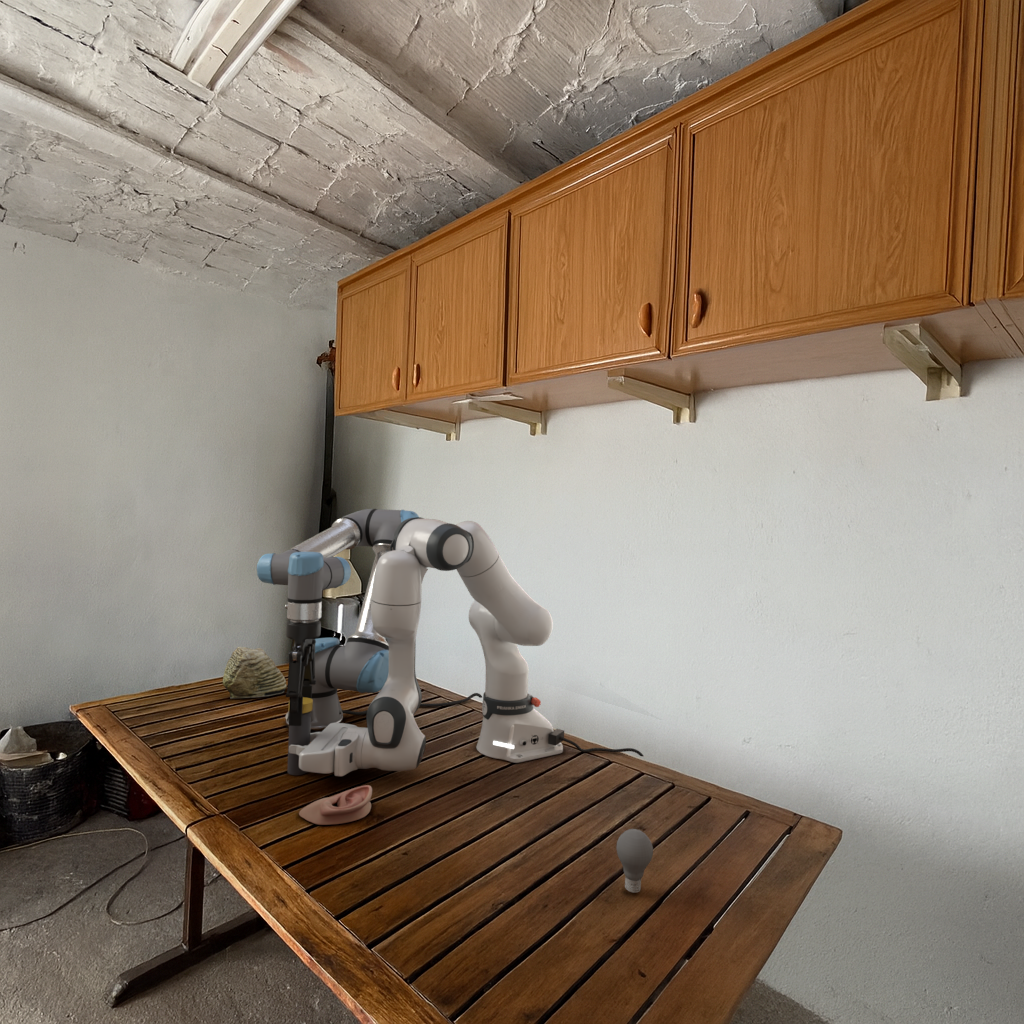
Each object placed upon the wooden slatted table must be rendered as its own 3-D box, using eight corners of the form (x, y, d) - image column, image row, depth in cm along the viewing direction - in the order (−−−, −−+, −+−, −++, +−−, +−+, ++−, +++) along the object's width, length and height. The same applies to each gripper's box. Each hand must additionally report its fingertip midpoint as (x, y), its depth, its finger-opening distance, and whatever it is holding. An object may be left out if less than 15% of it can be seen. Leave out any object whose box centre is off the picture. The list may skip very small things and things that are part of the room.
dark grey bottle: (293, 765, 148) (296, 699, 148) (312, 767, 148) (315, 701, 147) (283, 774, 144) (285, 705, 143) (302, 776, 143) (305, 707, 143)
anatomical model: (291, 800, 123) (320, 775, 134) (290, 820, 123) (320, 794, 134) (354, 810, 120) (379, 784, 132) (353, 830, 121) (378, 803, 132)
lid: (283, 711, 144) (283, 702, 144) (299, 704, 149) (299, 696, 149) (301, 715, 142) (302, 706, 142) (317, 708, 147) (317, 699, 147)
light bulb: (610, 879, 108) (613, 822, 108) (644, 879, 109) (647, 822, 109) (619, 902, 102) (622, 840, 102) (655, 901, 103) (658, 840, 103)
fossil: (218, 695, 195) (220, 647, 195) (278, 685, 208) (279, 640, 207) (228, 703, 189) (230, 653, 188) (289, 692, 201) (290, 645, 201)
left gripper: (299, 611, 155) (296, 704, 155) (273, 628, 135) (269, 735, 135) (330, 612, 155) (327, 705, 156) (309, 629, 135) (304, 735, 136)
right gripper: (368, 718, 155) (313, 714, 156) (340, 750, 135) (276, 746, 135) (367, 743, 155) (312, 739, 156) (338, 780, 135) (275, 775, 136)
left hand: (300, 718), depth 145 cm, fingers open, 7 cm apart
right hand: (295, 743), depth 146 cm, fingers closed on dark grey bottle, 5 cm apart
